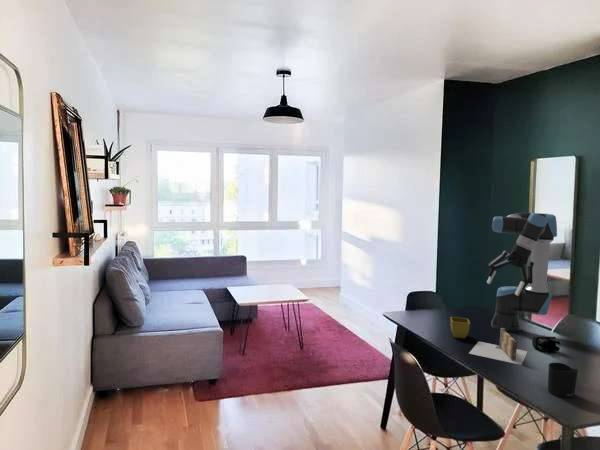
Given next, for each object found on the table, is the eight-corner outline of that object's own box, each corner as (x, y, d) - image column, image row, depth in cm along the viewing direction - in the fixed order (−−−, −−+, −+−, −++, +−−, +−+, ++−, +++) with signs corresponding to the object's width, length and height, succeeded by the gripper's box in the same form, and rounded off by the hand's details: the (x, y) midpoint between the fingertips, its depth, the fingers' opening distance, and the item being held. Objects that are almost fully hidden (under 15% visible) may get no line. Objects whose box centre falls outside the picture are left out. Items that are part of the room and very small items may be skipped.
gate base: (478, 342, 232) (478, 340, 232) (527, 352, 221) (527, 350, 221) (468, 354, 214) (468, 352, 214) (521, 365, 202) (521, 364, 202)
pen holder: (548, 395, 172) (550, 369, 172) (545, 386, 181) (547, 361, 180) (577, 400, 169) (580, 373, 168) (572, 390, 178) (575, 365, 177)
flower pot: (469, 340, 234) (470, 323, 233) (450, 338, 236) (452, 321, 235) (466, 335, 243) (467, 318, 242) (449, 333, 244) (450, 316, 244)
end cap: (550, 348, 228) (551, 335, 227) (560, 353, 221) (561, 339, 220) (531, 348, 227) (532, 334, 226) (540, 353, 220) (541, 339, 219)
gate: (498, 345, 225) (500, 327, 224) (503, 346, 225) (504, 328, 224) (511, 359, 207) (512, 339, 206) (516, 360, 206) (517, 340, 206)
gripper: (500, 237, 204) (478, 280, 208) (554, 259, 203) (531, 302, 207) (494, 234, 211) (474, 276, 215) (546, 255, 210) (525, 296, 215)
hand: (502, 289), depth 211 cm, fingers open, 13 cm apart
